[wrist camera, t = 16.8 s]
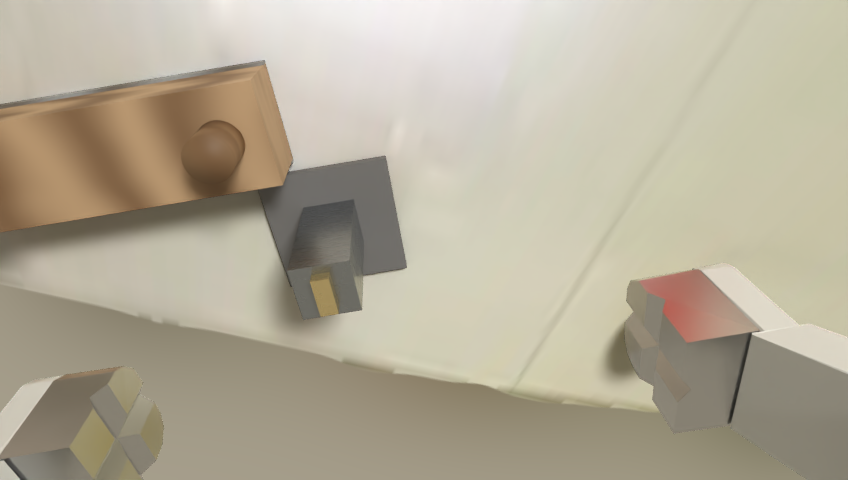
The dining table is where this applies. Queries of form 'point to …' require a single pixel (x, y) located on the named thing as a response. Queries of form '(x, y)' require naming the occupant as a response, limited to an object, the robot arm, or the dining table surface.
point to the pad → (334, 185)
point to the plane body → (140, 146)
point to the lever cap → (328, 260)
